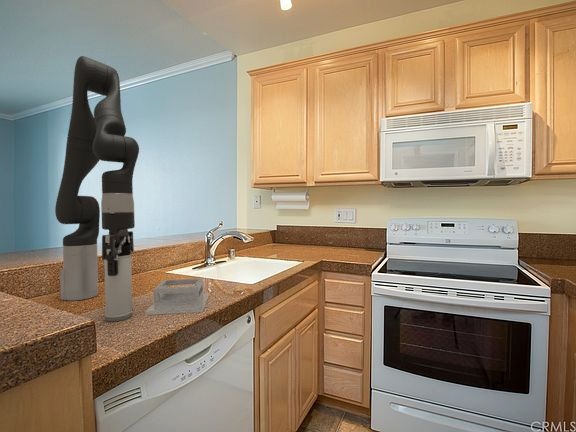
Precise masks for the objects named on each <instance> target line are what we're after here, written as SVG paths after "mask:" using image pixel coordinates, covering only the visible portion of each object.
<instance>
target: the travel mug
mask: <svg viewBox="0 0 576 432" xmlns="http://www.w3.org/2000/svg"><path fill="white" fill-rule="evenodd" d="M115 248H118V247H115ZM106 254H107V251H106ZM117 261H118V275H116V276H108V266H107V261H106V260H103V264H104V265H103V266H104V267H103V268H104V269H103V270H104V271H103V272H104V320H105V321H107V322H112V323H113V322H121V321H125V320H128V319H129V318H131V317H132V316H133V278H132V277H133V276H132V275H133V273H132V270H133V269H132V254H131V243H128V244H126V245H124V246H122V252H121V253H119V257H118V260H117Z"/></svg>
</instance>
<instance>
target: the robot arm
mask: <svg viewBox="0 0 576 432" xmlns="http://www.w3.org/2000/svg"><path fill="white" fill-rule="evenodd" d="M74 65H75V66H74V72H73V89H72V90H73V91H72V102H71V103H72V106H71V114H70V120H69V126H68V132H67V137H66V146H65V156H64V157H65V158H64V164H63V171H62V175H61V177H62V178H61V181H60V186H59V189H58V192H57V193H58V194H57V197H56V201H55V207H54V211H55V218H56V220H57V221H58V223H60V224H62V225H78V228H77V229H76V230H75V231H73V232H72V233H69V234H67V235H64V237H63V238H62V260H63V261H62V262H63V263H62V265H63V266H62V269H60V271H59V280H60V281H59V283H60V284H59V286H60V287H59V288H60V300H62V301H63V300H64V301H79V300H80V301H82V300H87V299H92V298H94V297H97V296H98V295H99V277H98V275H99V272H98V271H99V270H98V269H99V268H98V239H99V234H100V218H101V228H102V230H105V231H106V230H108V234H103V235H102V236H101V260H103V261H104V260H106V261H107V266H108V276H116V275H118V261H117V260H118V257H119V253H121V252H122V246H124V245H126V244H128V243H131V255H132V253H133V252H134V251H135V246H134V244H135V243H134V232H133V231H132V229H134V228H135V227H136V226H135V202H134V195H133V194H134V191H133V189H134V187H133V179H134V178H133V177H134V171H135V167H136V164H137V160H138V157H139V153H140V146H139V143H138V142H137V140H136V139H135V138H133V137H131V136H126V134H127V128H126V125H125V121H124V117H123V113H122V106H121V105H122V103H121V101H122V100H121V99H122V98H121V85H120V84H121V83H120V81H121V80H120V76H119V73H118V71H117V69H115V68H114V67H112V66H110V65H108V64H106V63H102V62H101V61H98V60H95V59H92V58H91V57H88V56H85V55H84V56H83V55H81V56H79V57H78V58H77V60H76V63H75V64H74ZM88 92H91V93H95V94H98V95H101V96H105V97H104V98H102V99H101V100H100V101H98V103H97V104H96V105H95V106H94V109H93V113H92V110H91V107H90V103H89V98H88ZM99 161H102V162H111V163H121V164H122V167H121V168H119V169H115V170H113V169H112V170H107V171H104V172H103V173H102V175H101V194H102V195H101V202H100V203H99V202H98V200H97V198H95V197H94V196H90V195H79V193H80V189H81V188H80V187H81V184H82V183H83V181H84V180H85V178H86V177H87V176H88V175H89V174H90V172H92V170H93V169H95V167H96V166H97V165H98V163H99ZM100 204H101V205H100ZM100 206H101V208H100ZM100 209H101V210H100ZM129 230H130V231H129ZM115 247H118V248H115ZM106 251H107V254H106Z"/></svg>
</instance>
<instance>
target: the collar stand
mask: <svg viewBox="0 0 576 432" xmlns="http://www.w3.org/2000/svg"><path fill="white" fill-rule="evenodd" d="M183 285H185V286H183ZM186 285H187V286H186ZM188 285H189V286H188ZM190 285H192V286H190ZM193 285H194V286H193ZM171 286H172V287H171ZM209 297H210V293H206V292H205V293H204V278H201V277H200V278H182V279H181V278H180V279H179V278H177V279H176V278H175V279H163V280H162V281H161V282H160V283H159V284H158V285H156V286H155V287H154V288H153V303H152V304H151V305H150V306H149V307H148V308H147V310H146V311H145V316H154V315H173V314H175V315H176V314H190V313H203V312H204V310H205V308H206V305H207V302H208V300H209Z"/></svg>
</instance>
